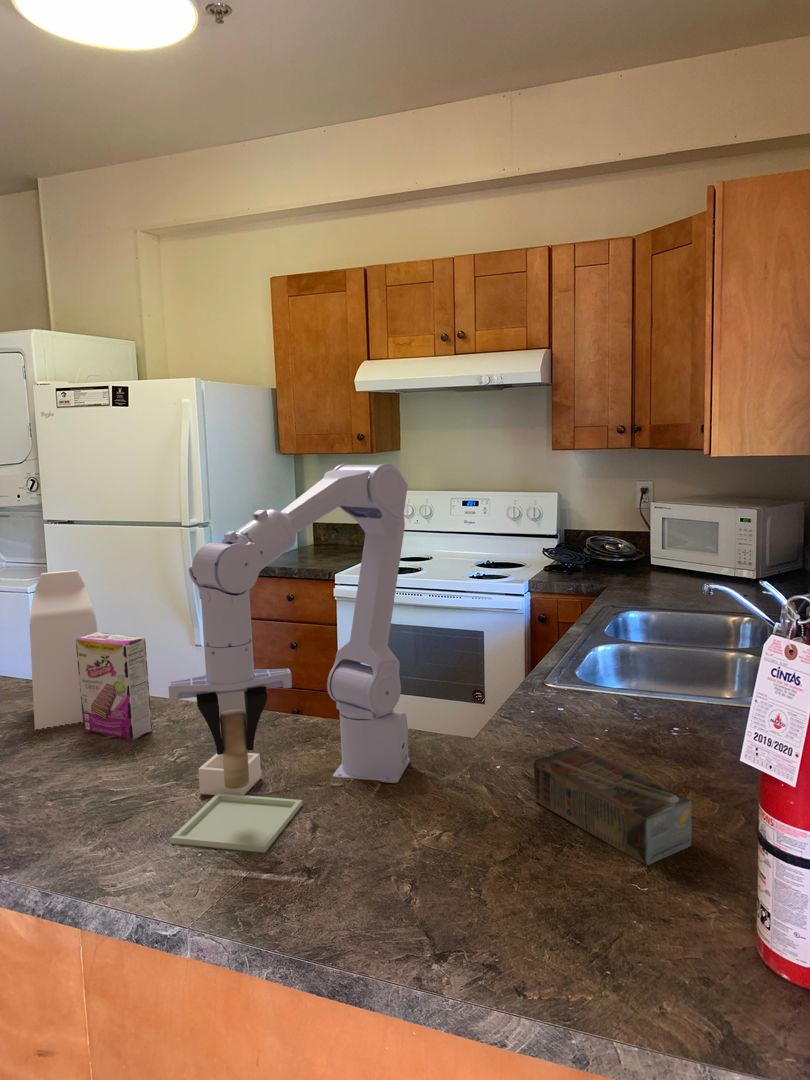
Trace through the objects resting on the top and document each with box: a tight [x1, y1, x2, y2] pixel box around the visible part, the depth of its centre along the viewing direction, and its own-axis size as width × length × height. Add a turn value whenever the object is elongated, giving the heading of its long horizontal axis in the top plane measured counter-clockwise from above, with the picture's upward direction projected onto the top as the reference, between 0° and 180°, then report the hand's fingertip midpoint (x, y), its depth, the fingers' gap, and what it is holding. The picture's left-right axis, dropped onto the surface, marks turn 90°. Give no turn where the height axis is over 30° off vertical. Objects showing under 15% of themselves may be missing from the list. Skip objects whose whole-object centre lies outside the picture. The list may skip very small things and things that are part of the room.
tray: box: [170, 793, 303, 854], centre depth 98 cm, size 12×12×1 cm
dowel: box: [219, 709, 249, 789], centre depth 97 cm, size 3×3×9 cm
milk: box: [29, 569, 98, 731], centre depth 141 cm, size 12×12×26 cm
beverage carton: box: [533, 746, 693, 866], centre depth 96 cm, size 8×19×7 cm, turn 31°
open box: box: [197, 752, 262, 796], centre depth 109 cm, size 6×6×4 cm
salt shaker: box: [217, 691, 246, 717], centre depth 138 cm, size 6×6×13 cm
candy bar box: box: [75, 632, 153, 741], centre depth 132 cm, size 11×5×16 cm, turn 65°
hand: (235, 749), depth 97 cm, fingers closed on dowel, 3 cm apart
